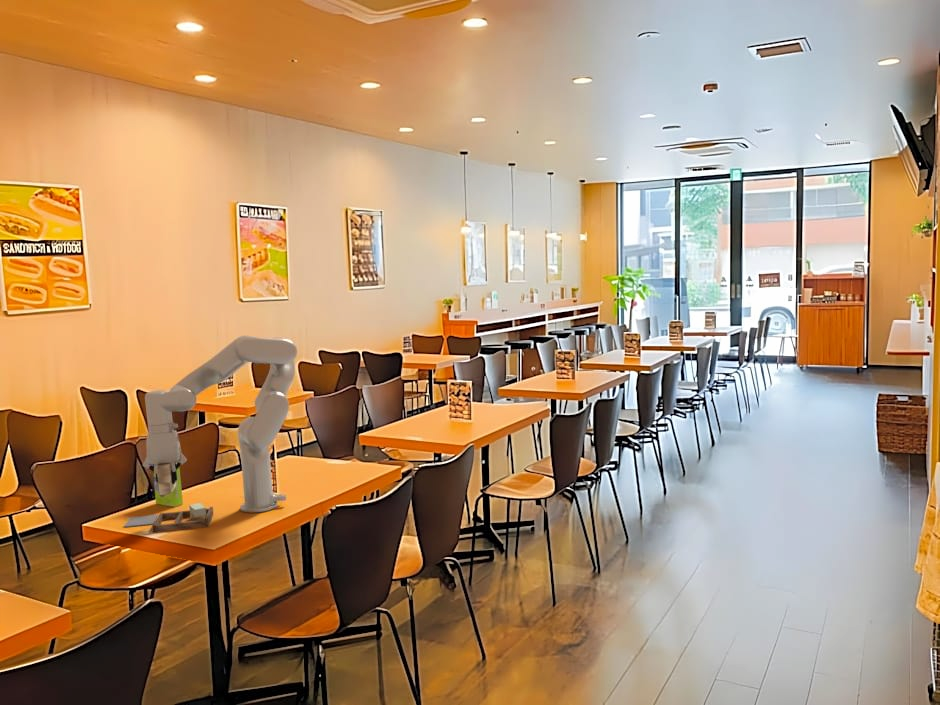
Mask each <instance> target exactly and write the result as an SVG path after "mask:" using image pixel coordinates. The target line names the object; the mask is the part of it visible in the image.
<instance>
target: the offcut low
mask: <svg viewBox="0 0 940 705" xmlns="http://www.w3.org/2000/svg"><path fill="white" fill-rule="evenodd" d="M205 517H206V515H204V516H199V517H195V516H193V515H192V514H191V513H190V517H189V521H198V520H205Z"/></svg>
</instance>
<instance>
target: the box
mask: <svg viewBox="0 0 940 705" xmlns="http://www.w3.org/2000/svg"><path fill="white" fill-rule="evenodd" d="M179 461H180V460H179ZM179 461H177V462H176V464H177V463H178V462H179ZM152 472H153V471H152ZM176 472H177V481H176V487H175V488H174V490H173V492H172V493H171V494H165V495H160V493H159V485H158V483H157V482H156V474H155V473H154V472H153V482H154V483H153V484H154V485H153V486H154V497H155V504H156V505H161V506H167V507H172V508H176V507H179V506H182V505H183V504H184V502H183V493H182V492H183V491H182V490H183V489H182V481H181V480H182V479H181V470H180V467H179V468H178V469H177V470H176Z"/></svg>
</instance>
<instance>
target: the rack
mask: <svg viewBox="0 0 940 705" xmlns="http://www.w3.org/2000/svg"><path fill="white" fill-rule="evenodd" d="M213 516H214V507H213V506H209V508H206V515H205V520H198V521H190V520H189V521H183V519H184V518H190V509H189V510H179V511H171V512H170V511H169V512H160V513H159V514H158V517H157V519H156V520H155V522H154V524H153V525H151V526H152V533H158V532H159V531H160V532H167V531H176V530H177V531H178V530H187V529H195V528H206V527H208V528H209V526H210V524H211V522H212V519H213ZM174 519H175V520H174ZM165 520H174V522H171V523H162V522H163V521H165Z"/></svg>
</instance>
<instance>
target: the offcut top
mask: <svg viewBox="0 0 940 705" xmlns="http://www.w3.org/2000/svg"><path fill="white" fill-rule="evenodd" d="M188 506H189V510H190V513H191V514H192V515H193V516H195V517H199V516H204V515H205V516H206V509H207V507H205V505H203V504H202V503H201V502H198V503H193V504H189V505H188Z"/></svg>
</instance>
